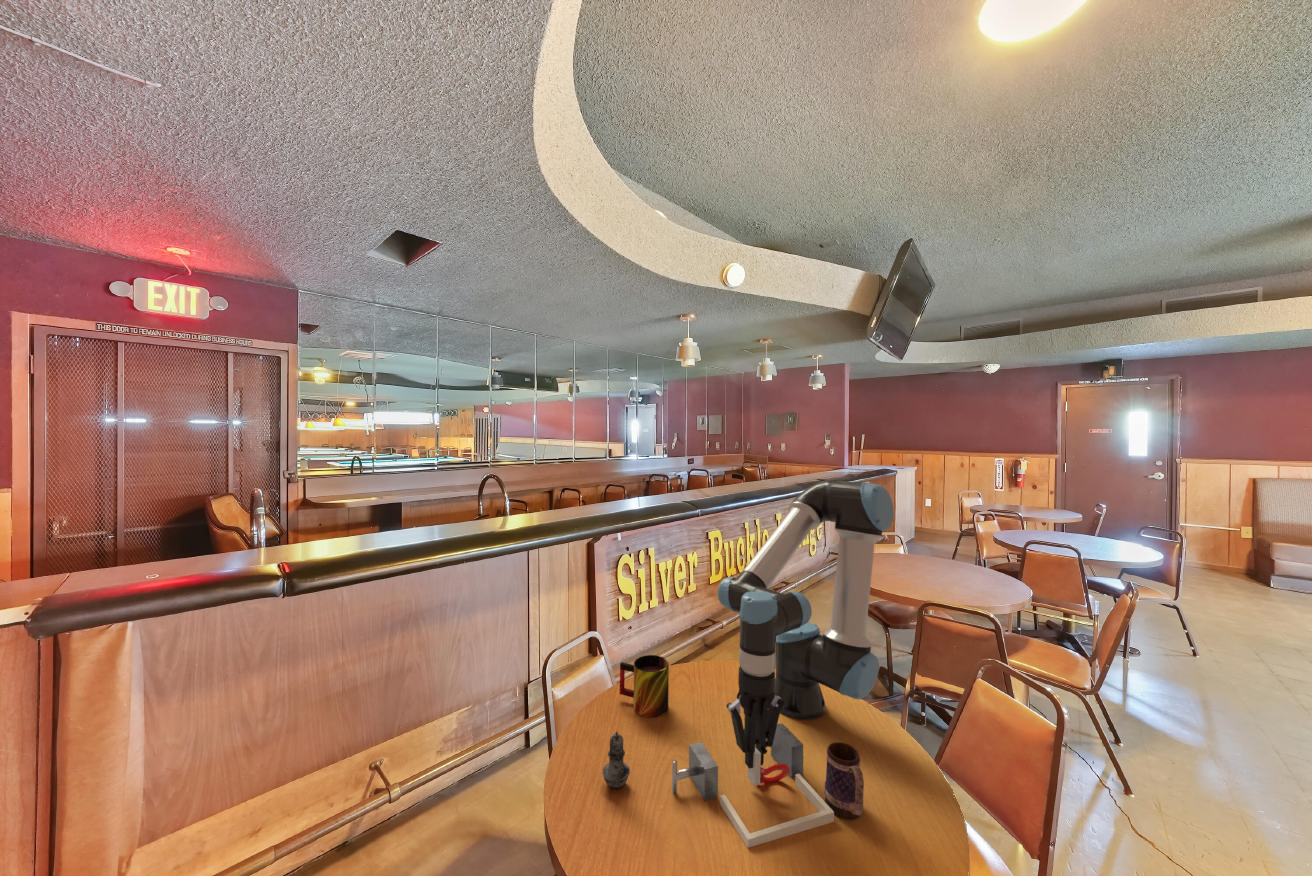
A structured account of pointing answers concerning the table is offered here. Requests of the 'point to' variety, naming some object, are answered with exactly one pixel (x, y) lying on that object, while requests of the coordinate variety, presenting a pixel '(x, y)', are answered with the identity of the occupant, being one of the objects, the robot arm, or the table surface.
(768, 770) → the tow hook
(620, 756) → the chess piece
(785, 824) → the corral
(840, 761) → the mug
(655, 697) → the mug
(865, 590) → the robot arm
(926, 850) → the table surface
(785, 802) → the table surface
